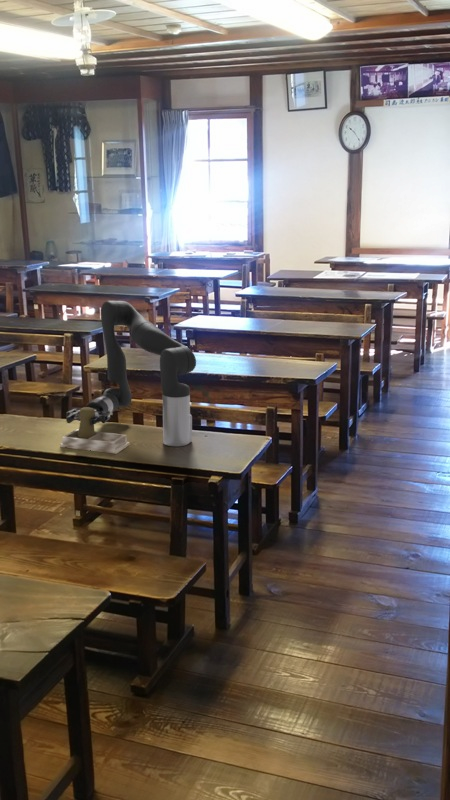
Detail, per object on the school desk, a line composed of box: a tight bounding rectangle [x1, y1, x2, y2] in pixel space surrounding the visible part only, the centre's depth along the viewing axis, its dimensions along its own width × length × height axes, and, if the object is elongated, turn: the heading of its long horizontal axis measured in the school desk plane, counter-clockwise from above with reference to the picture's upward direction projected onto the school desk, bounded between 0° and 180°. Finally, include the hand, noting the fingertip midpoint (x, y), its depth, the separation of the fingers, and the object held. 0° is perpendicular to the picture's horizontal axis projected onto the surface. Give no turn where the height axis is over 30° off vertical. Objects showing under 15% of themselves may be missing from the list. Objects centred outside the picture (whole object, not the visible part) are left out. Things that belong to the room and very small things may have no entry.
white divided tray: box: [59, 428, 130, 455], centre depth 267 cm, size 21×10×4 cm, turn 72°
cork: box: [78, 406, 96, 439], centre depth 268 cm, size 6×6×11 cm
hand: (79, 421), depth 265 cm, fingers open, 8 cm apart
